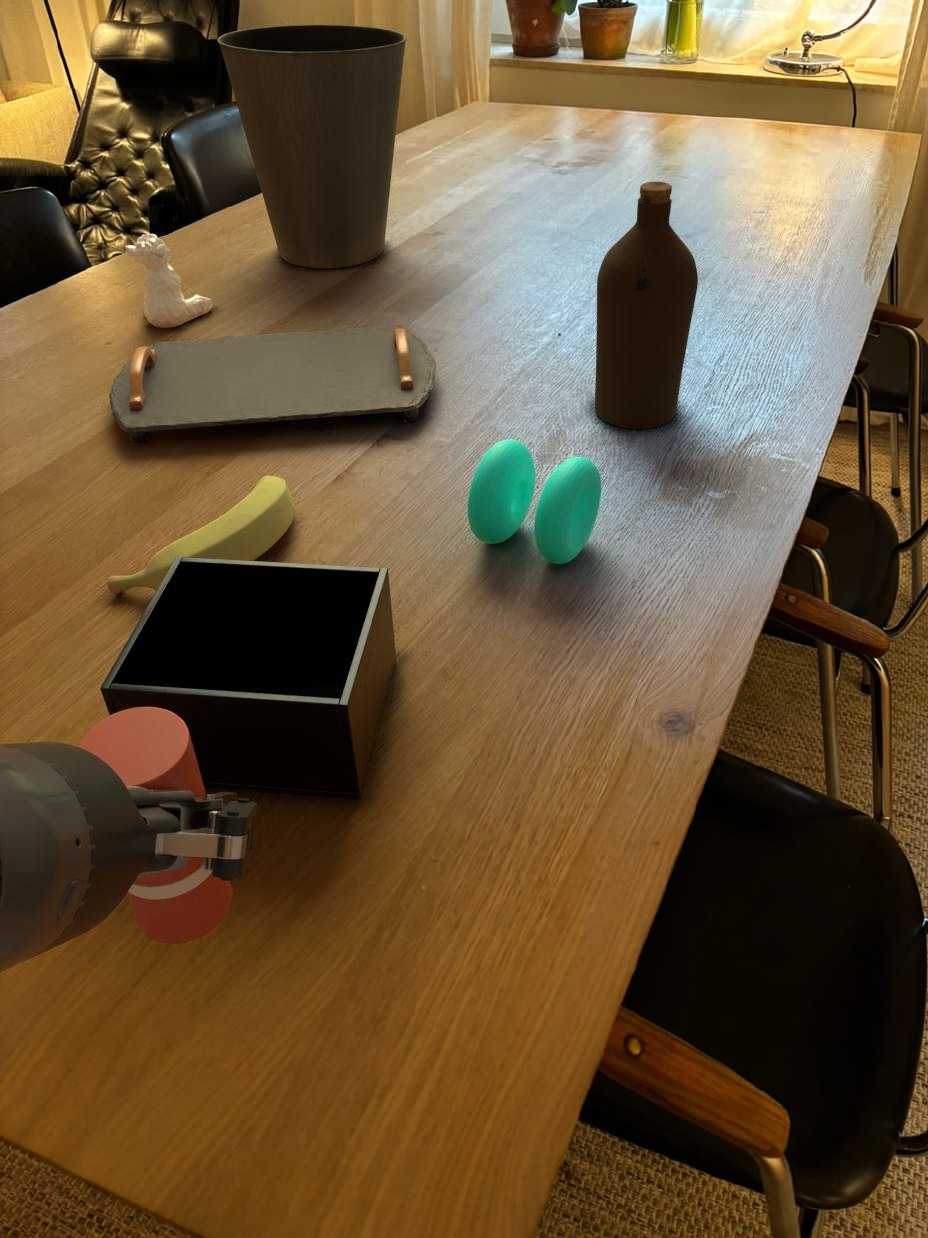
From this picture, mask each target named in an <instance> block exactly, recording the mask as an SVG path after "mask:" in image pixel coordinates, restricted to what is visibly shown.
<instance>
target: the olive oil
mask: <svg viewBox="0 0 928 1238" xmlns="http://www.w3.org/2000/svg"><path fill="white" fill-rule="evenodd" d="M672 190H673V186H672V185H671V184H669V183H668V182H664V181H647V182H644V183H641V184H640V186H639V197H638V199H637V206H636V207H637V208H636V222H635V223H634V225H633V226H632V227H631V228H630V229H629V230H628V231H626V233H624V234H623V236H622V237H620V238H619V240H617V242H615V243H614V244H613V245H612V246H611V247H610V248H609V250H608V251H607V252H606V254H605V256H604V258H603V259H602V261H601V264H600V266H599V269H598V273H597V279H596V337H595V339H596V344H595V386H594V411H595V413H596V415H597V416H598V417H599V418H600V419H601V420H602V421H603V422H605V423H607V424H610V425H612V426H615V427H618V428H622V429H630V430H647V429H654V428H658V427H661V426H664V425H665V424H667V423H669V422H670V421H672V420H673V419H674V418H675V416H676V413H677V408H678V403H679V402H678V401H679V395H680V388H681V381H682V376H683V369H684V364H685V359H686V351H687V346H688V341H689V335H690V331H691V330H690V329H691V325H692V318H693V314H694V308H695V303H696V297H697V291H698V286H699V275H698V268H697V263H696V260H695V256H694V255H693V253H692V252H691V251H690V248H689V247H687V245H686V244H685V242H683V240H682V239H681V238H680V236H679V235H678V234H677V232H675V230H674V229H673V227H672V226H671V224H670V217H671V210H672V209H671V208H672V202H673V201H672V199H671V195H672Z"/></svg>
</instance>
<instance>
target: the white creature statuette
mask: <svg viewBox="0 0 928 1238" xmlns="http://www.w3.org/2000/svg"><path fill="white" fill-rule="evenodd" d="M124 247H125V249H126V251H127V254H128V256H129V257H130V258H134V261H135V262H136V263H138V264H140V265H141V266H143V267H144V268H145V269H147V270H146V271H145V276H144V277H143V288H144V297H143V308H142V311H143V314H144V316H145V318H146V321H147V322H148V323H149V324H151V325H152V326H153V327H156V328H163V329H169V328H175V327H176V328H177V327H178V326H182V325H183V324H184V323H188V322H190V321H192V320H193V319H194V320H195V319H197V318H198V317H200V316H202V315H206V314H207V313H210V310H211V309H212V308H213V305H214V304H213V301H212V299H211V298H210V297H206V296H202V295H200V294H194V295H193V296H191V297H190V298H186V299H185V295H184V294H183V293H182V286H181V283H182V278H181V277H180V275H178V274H177V273H176V271H175V269H174V268H173V266H171V264H170V263H169V262H170V261H171V260H172V257H171V250H170V249H169V248H168V247H167V244H166V243H165V242H164V241H163V239H161V238H159V237H158V235H157V234H154V233H146V234H144V233H143V234H141V236H139V237H137V239H136V242H135V245H125V246H124Z"/></svg>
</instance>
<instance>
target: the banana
mask: <svg viewBox="0 0 928 1238" xmlns="http://www.w3.org/2000/svg"><path fill="white" fill-rule="evenodd" d="M295 515H296V506H295V502H294V499H293V495H292V493H291V491H290V488H289V486H288V483H287V482H286V480H285V479H284V478H282V477H279V476H275V475H264V476H262V477H261V478H260V479H259V480H258V481H257V483H256V484H255V485H254V488H253V490H251V492H249V493H248V494H247V495H246V496H245V497H244V498H243V499H241V500H240V501H239V502H238V503H237V504H236V505H235V504H234V506H233V507H231V508H230V509H229V510H227V511H226V512H225V513H223V514H222V515H220V516H219V517H217V518H216V519H214V520H212V521H211V522H209V523H207V524H205V525H204V526H202V527H200V528H198V529H197V530H195V531H193V532H191V533H188V534H187V535H184V536H183V537H181V538H179V539H177V540H175V541H172V542H171V543H169V544H168V545H166V546H165V547H163V548H162V549H160V550H159V551H157V552H156V553H155V554H154V555H153V556H152V557H151V558H150V559H149V561H148V562H147V564H146V566H145V568H144V569H143V570H141V571H139V572H136V573H134V574H130V575H110V576H109V577H108V579H107V583H106V584H107V588H108V590H109V592H110V593H111V594H112V595H118V594H121V593H122V592H124V591H126V590H129V589H133V588H149V589H152V590H155V591H156V590H157V589H158V587H159V585H160V584H161V582H162V580H163V578H164V577H165V575H166V573H167V571H168V570H169V568H170V566H171V564H172V563H173V561H174V559H175V558H176V557H182V558H183V557H186V558H205V559H224V560H242V561H256V560H257V559H258V558H259V557H261V556H262V555H263V554H265V553H266V552H267V551H268V550H270V549H271V548H272V547H273V546H274V545H275V544H276V543H277V542H278V541H279V540H280V539H281V538H282V537H283V536H284V534H285V533H286V532H287V531H288V529H289V528H290V526H291V525H292V523H293V521H294V519H295Z"/></svg>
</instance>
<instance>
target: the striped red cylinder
mask: <svg viewBox="0 0 928 1238" xmlns="http://www.w3.org/2000/svg"><path fill="white" fill-rule="evenodd" d="M76 747H80V748H82V749H84V750H87V751H89V752H90V753H92V754H94V755H96V756H97V757H99V758H100V759H102V760H103V761H104V762H106V763H107V764H108V765H109V766H110V767H111V768H112V769H113V770H114V771H115V772H116V773H117V774H118V776H119V777H120V778H121V779H122V781H123V782H124V784H125V785H131V786H138V787H144V788H146V789H149V788H175V789H182V790H189V791H191V792H192V793H193V795H194V797H198V796H205V794H207V792H206V789H205V788H206V787H204V785H203V781H202V777H201V774H200V770H199V766H198V763H197V759H196V755H195V752H194V748H193V744H192V741H191V737H190V733H189V730H188V728H187V725H186V724H185V722H184V721H183V720H182V719H181V718H180V717H179V716H177V715H176V714H174V713H173V712H171V711H168V710H166V709H162V708H156V707H137V708H131V709H126V710H123V711H120V712H117V713H114V714H112V715H108V716H106V717H104V718H103V719H101V720H99V721H97V722H96V723H95V724H94V725H92V726H91V727H90V728H89V729H88V730H87V731H86V732H85V734H84V735H83V736H82V737H81V739H80V740H79V743H78V744H77V746H76ZM154 805H156V806H158V807H159V808H160V805H159V804H154ZM194 819H195V813H194V814H193V816H192V820H191V830H193V829H194ZM204 859H205V857H190V858H189V860H188V862H187V864H186V865H185V867H184V868H182V869H179V870H173V871H167V872H161V873H155V874H149V875H143V876H141V877H140V878H139V879H138V880H137V881H136V882H135V883H133V885H132V886H131V888H130V889H129V891H128V892H127V894H126V895H125V897H126V900H127V902H128V904H129V907H130V909H131V912H132V914H133V917H134V920H135V923H136V924H137V926H138V928H139V930H140V931H141V932H142V934H144V935H145V936H146V937H147V938H148V939H151V940H153V941H155V942H158V943H161V944H167V945H180V944H186V943H189V942H193V941H196V940H198V939H200V938H202V937H204V936H206V935H207V934H209V933H210V932H212V931H213V930H215V928H217V926H219V924H220V923H221V922H222V921H223V920H224V919H225V917H226V916H227V913H228V912H229V909H230V907H231V903H232V900H233V889H232V884H231V881H224V880H220V878H217V877H213V876H212V871H205V870H204Z"/></svg>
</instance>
